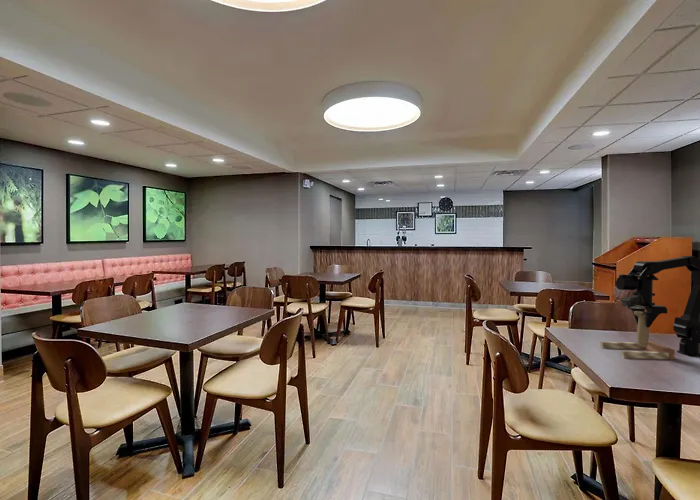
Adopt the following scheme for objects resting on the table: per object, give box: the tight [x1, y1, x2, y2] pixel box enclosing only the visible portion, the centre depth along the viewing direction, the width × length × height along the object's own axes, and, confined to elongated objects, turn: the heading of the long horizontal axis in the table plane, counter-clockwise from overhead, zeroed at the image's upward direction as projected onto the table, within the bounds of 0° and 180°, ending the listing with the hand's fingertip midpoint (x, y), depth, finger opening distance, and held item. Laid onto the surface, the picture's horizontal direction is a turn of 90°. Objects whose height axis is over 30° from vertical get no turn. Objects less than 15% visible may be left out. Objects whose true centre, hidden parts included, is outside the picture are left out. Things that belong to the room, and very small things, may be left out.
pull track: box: [599, 339, 676, 360], centre depth 159 cm, size 20×16×4 cm
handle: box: [633, 311, 650, 347], centre depth 159 cm, size 5×6×15 cm
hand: (643, 325), depth 159 cm, fingers closed on handle, 5 cm apart
